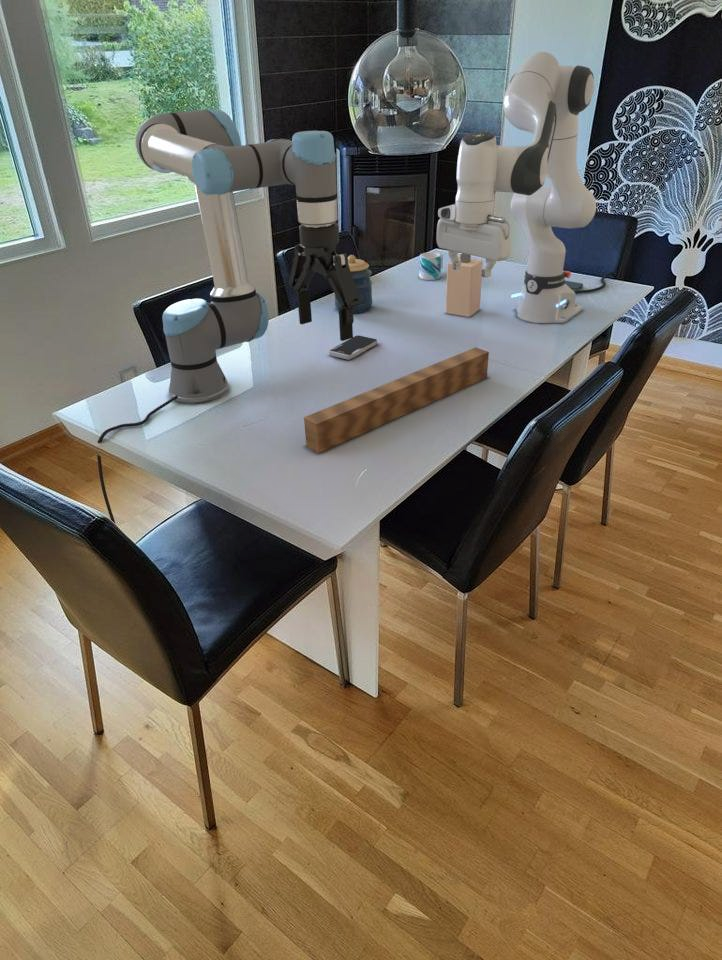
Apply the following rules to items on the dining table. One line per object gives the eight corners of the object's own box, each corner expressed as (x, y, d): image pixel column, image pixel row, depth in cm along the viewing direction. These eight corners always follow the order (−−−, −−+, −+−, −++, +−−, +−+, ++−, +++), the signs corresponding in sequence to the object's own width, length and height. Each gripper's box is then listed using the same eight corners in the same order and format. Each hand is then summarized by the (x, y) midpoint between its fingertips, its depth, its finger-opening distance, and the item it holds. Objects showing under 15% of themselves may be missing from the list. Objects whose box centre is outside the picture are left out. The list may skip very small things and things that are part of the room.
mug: (415, 278, 257) (415, 256, 252) (430, 270, 265) (430, 248, 261) (434, 281, 253) (435, 258, 248) (448, 272, 261) (449, 250, 257)
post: (318, 453, 148) (316, 424, 144) (306, 446, 151) (303, 417, 147) (487, 377, 179) (489, 351, 175) (474, 372, 182) (475, 347, 178)
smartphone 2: (577, 289, 235) (536, 281, 242) (576, 293, 236) (535, 286, 243) (584, 283, 240) (544, 276, 247) (583, 287, 241) (543, 280, 248)
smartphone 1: (378, 339, 201) (349, 356, 191) (378, 343, 202) (349, 360, 191) (357, 335, 205) (327, 351, 195) (357, 339, 206) (328, 355, 195)
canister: (340, 315, 224) (337, 262, 214) (330, 304, 234) (327, 252, 224) (377, 311, 226) (376, 257, 217) (366, 299, 237) (364, 248, 227)
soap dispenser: (469, 317, 218) (472, 247, 206) (445, 313, 222) (447, 244, 210) (485, 305, 227) (489, 238, 215) (462, 302, 231) (465, 236, 219)
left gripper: (377, 229, 121) (379, 341, 133) (295, 211, 137) (304, 312, 149) (345, 237, 117) (350, 351, 129) (265, 217, 133) (276, 320, 145)
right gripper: (519, 216, 149) (513, 278, 156) (451, 204, 162) (449, 262, 170) (501, 221, 146) (496, 284, 153) (433, 208, 159) (431, 267, 166)
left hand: (325, 330), depth 139 cm, fingers open, 13 cm apart
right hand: (470, 273), depth 161 cm, fingers open, 8 cm apart
